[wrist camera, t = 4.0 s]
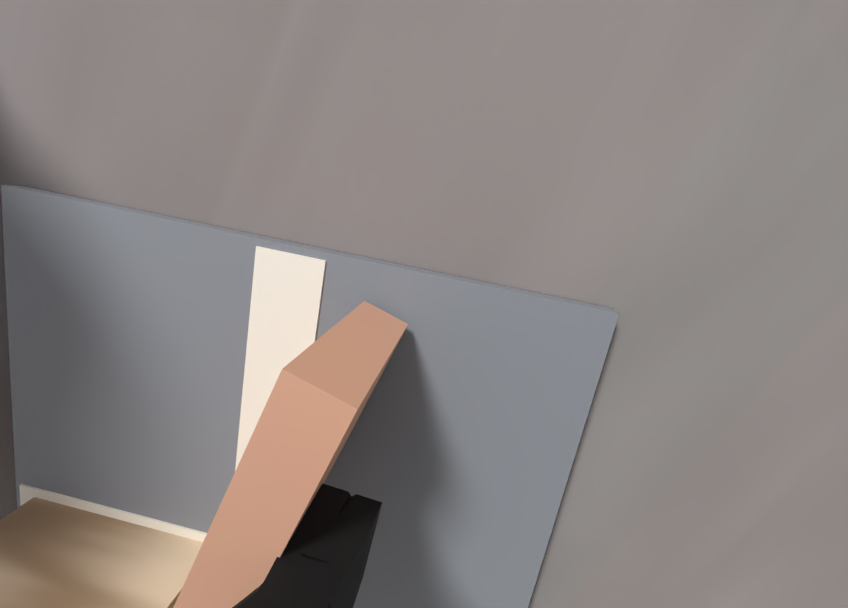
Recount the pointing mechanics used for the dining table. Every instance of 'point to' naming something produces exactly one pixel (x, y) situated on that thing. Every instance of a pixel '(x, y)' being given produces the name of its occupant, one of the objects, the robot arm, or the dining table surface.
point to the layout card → (258, 372)
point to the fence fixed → (88, 560)
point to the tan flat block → (290, 456)
